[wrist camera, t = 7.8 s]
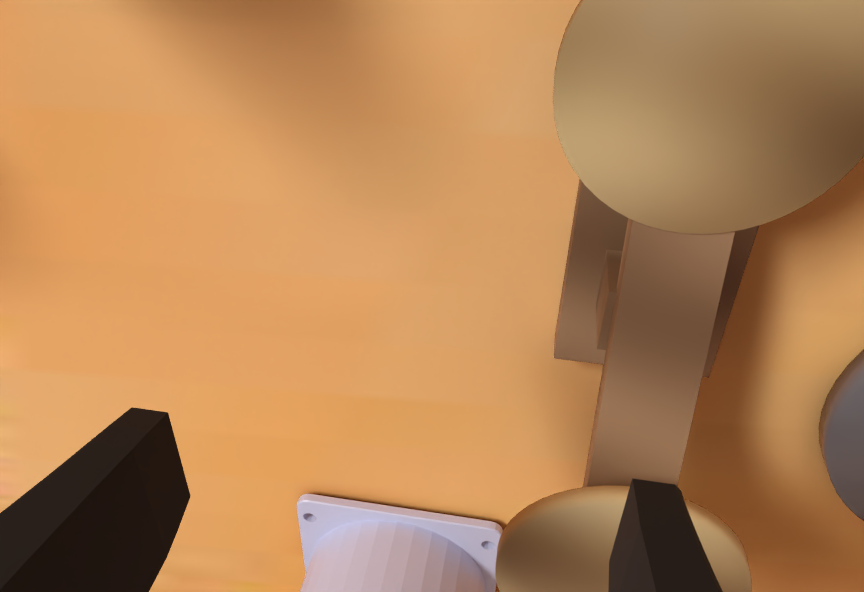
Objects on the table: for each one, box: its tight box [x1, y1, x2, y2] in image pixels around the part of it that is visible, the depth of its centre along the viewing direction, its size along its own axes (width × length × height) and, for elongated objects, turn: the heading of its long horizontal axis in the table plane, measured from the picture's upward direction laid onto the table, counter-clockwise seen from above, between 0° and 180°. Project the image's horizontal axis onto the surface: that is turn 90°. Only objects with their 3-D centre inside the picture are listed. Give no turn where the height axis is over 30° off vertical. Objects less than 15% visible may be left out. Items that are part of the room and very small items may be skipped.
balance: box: [495, 0, 864, 592], centre depth 18 cm, size 18×6×6 cm, turn 179°
